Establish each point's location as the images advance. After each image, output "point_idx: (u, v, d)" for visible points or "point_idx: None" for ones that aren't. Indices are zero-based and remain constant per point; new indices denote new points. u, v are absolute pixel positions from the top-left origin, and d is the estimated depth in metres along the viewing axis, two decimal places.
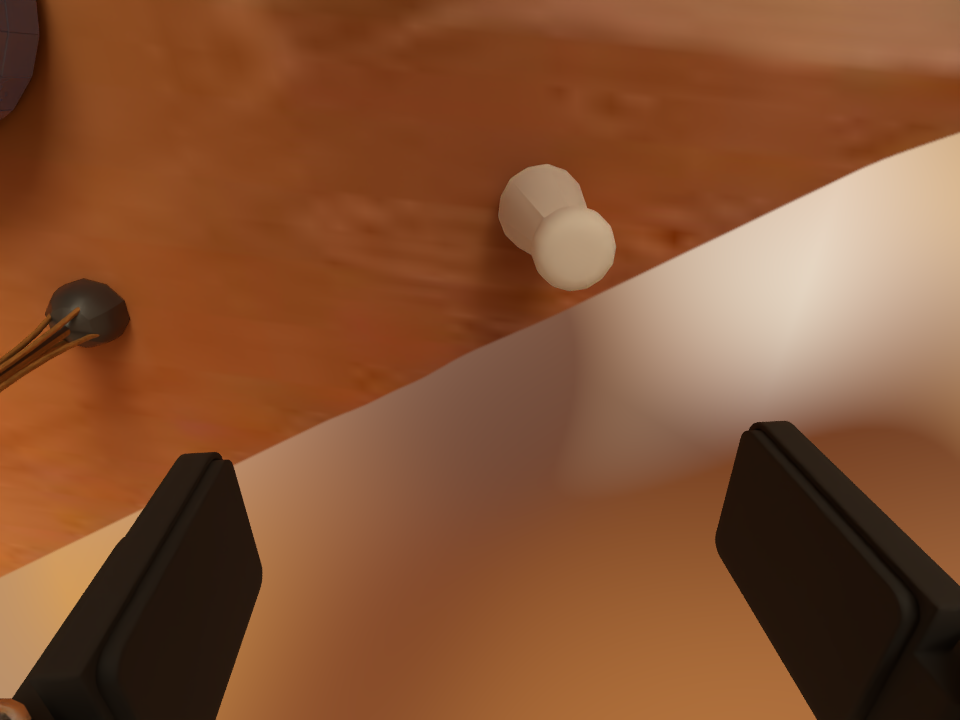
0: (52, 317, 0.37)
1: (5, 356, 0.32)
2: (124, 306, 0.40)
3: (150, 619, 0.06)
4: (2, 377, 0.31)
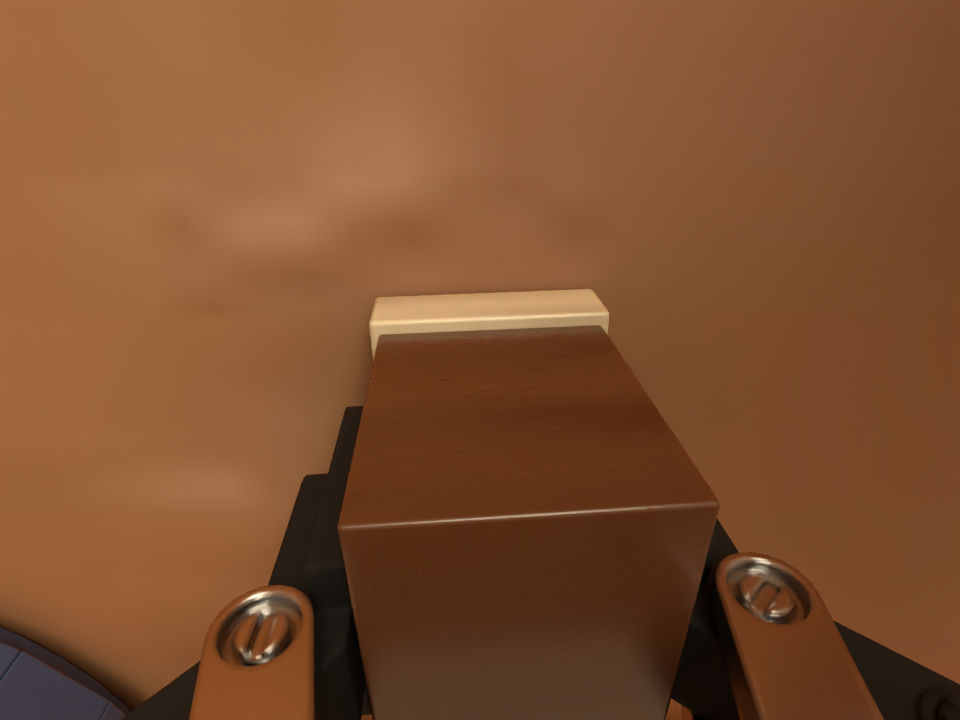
0: None
1: None
2: None
3: None
4: None
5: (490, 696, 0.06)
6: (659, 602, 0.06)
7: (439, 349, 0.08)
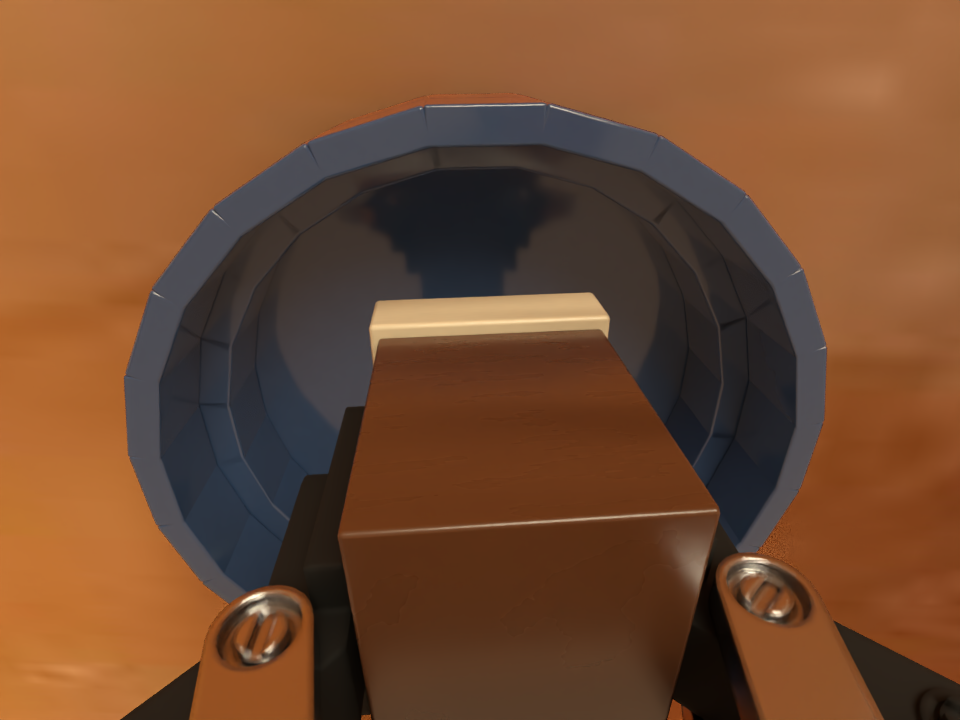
0: None
1: None
2: None
3: None
4: None
5: (490, 703, 0.06)
6: (660, 609, 0.06)
7: (439, 353, 0.08)
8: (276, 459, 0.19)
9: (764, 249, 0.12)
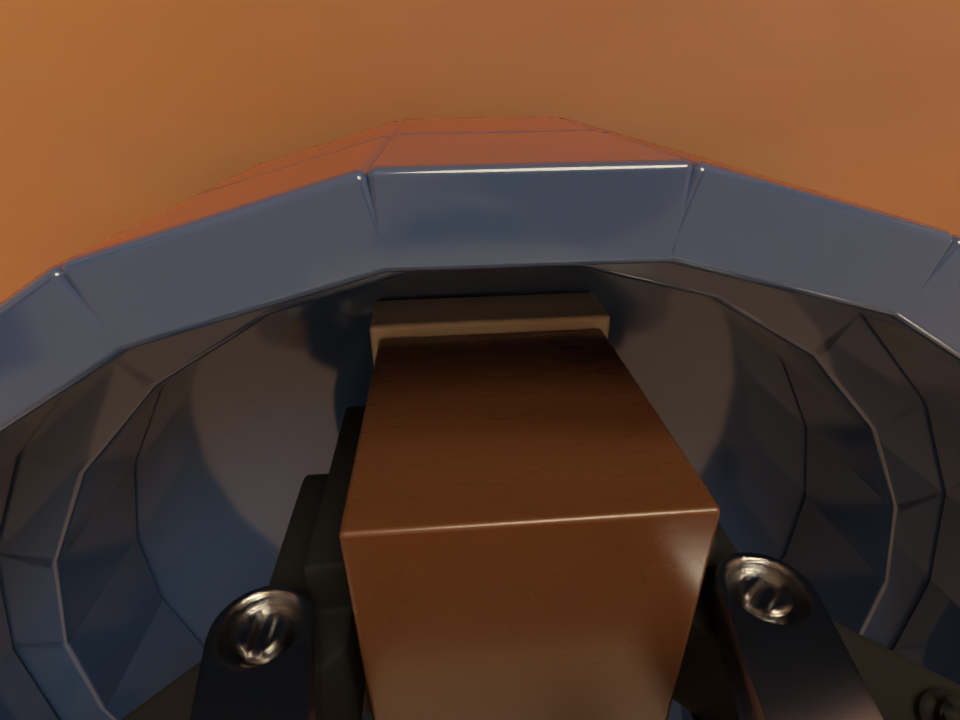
0: None
1: None
2: None
3: None
4: None
5: (490, 702, 0.06)
6: (660, 607, 0.06)
7: (440, 353, 0.08)
8: (176, 671, 0.13)
9: None
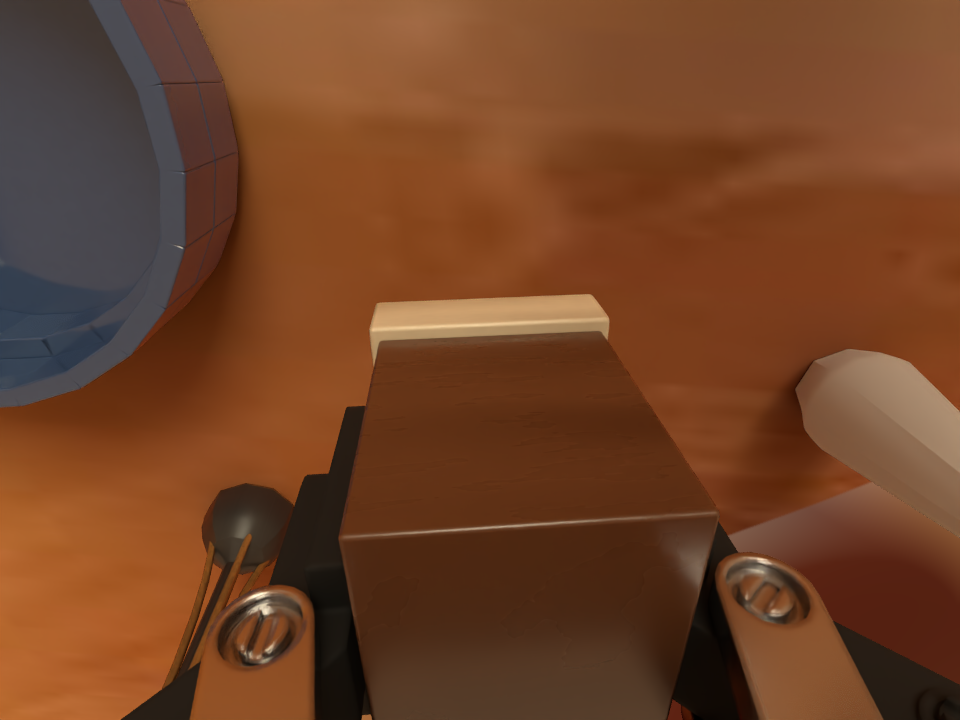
0: (216, 549, 0.28)
1: (183, 647, 0.23)
2: None
3: None
4: None
5: (490, 704, 0.06)
6: (660, 611, 0.06)
7: (439, 355, 0.08)
8: None
9: None
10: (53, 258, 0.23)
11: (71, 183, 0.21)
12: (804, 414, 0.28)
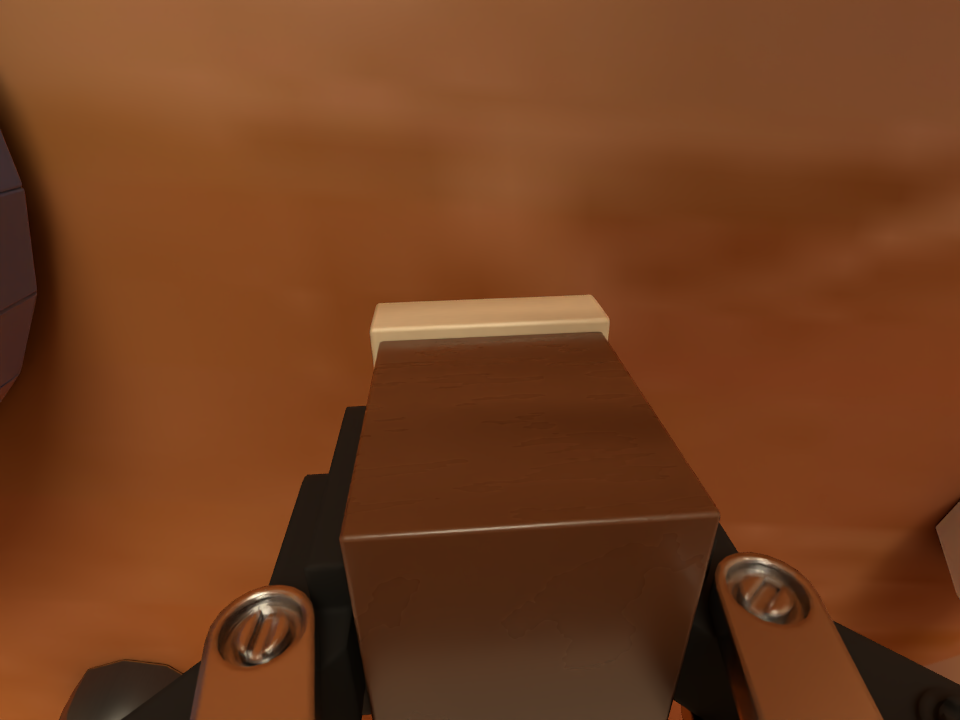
0: None
1: None
2: None
3: None
4: None
5: (491, 706, 0.06)
6: (660, 612, 0.06)
7: (440, 356, 0.08)
8: None
9: None
10: None
11: None
12: None
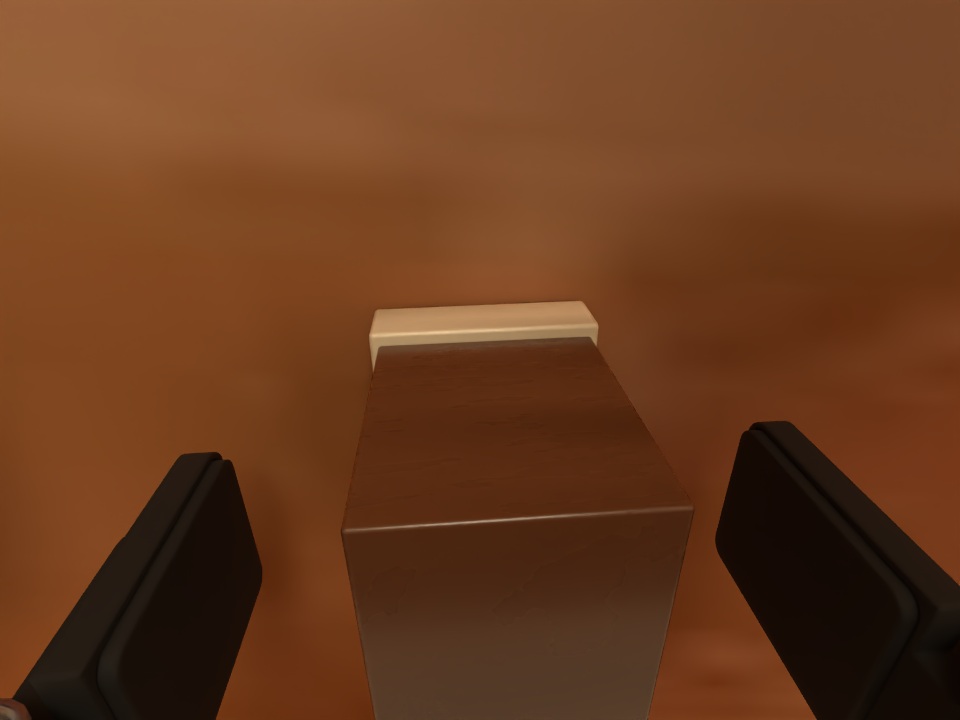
0: None
1: None
2: None
3: (150, 619, 0.06)
4: None
5: (483, 689, 0.07)
6: (640, 600, 0.06)
7: (436, 360, 0.09)
8: None
9: None
10: None
11: None
12: None
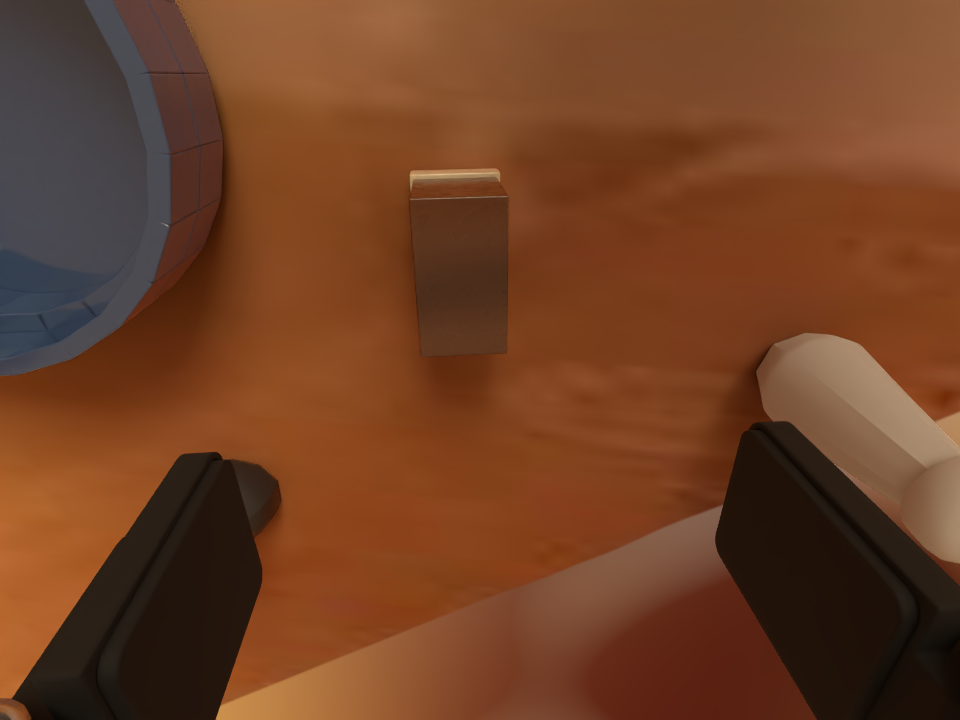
0: None
1: None
2: (277, 488, 0.32)
3: (150, 619, 0.06)
4: None
5: (450, 271, 0.21)
6: (497, 232, 0.21)
7: (435, 181, 0.23)
8: None
9: None
10: (48, 239, 0.24)
11: (66, 168, 0.23)
12: (762, 394, 0.29)
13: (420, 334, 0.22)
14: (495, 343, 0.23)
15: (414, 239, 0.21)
